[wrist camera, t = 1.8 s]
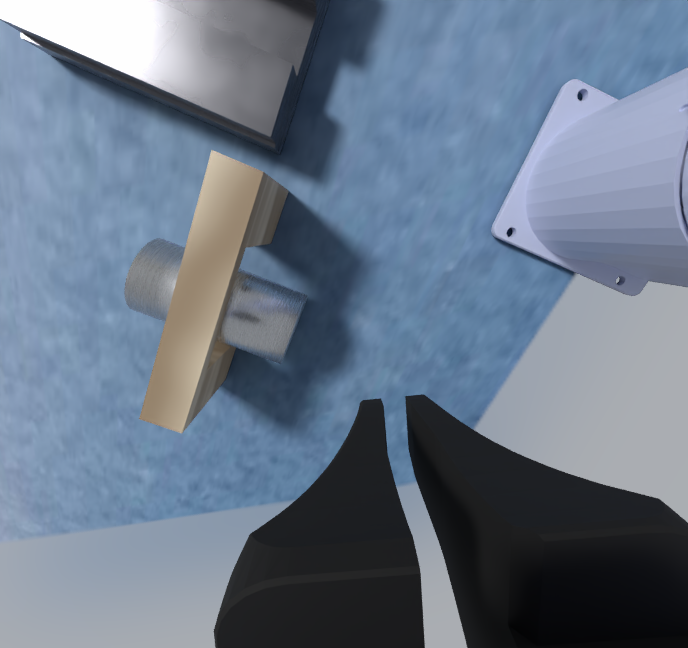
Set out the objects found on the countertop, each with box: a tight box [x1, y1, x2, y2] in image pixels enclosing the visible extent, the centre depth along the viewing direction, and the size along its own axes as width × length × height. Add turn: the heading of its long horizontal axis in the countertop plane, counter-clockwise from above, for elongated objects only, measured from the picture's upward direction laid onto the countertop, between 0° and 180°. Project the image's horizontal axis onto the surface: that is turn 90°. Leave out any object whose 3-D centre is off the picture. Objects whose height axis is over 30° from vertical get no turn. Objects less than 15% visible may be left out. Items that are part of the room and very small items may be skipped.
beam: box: [139, 150, 288, 433], centre depth 17 cm, size 2×12×6 cm, turn 158°
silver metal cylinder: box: [125, 238, 307, 364], centre depth 18 cm, size 8×4×4 cm, turn 68°
